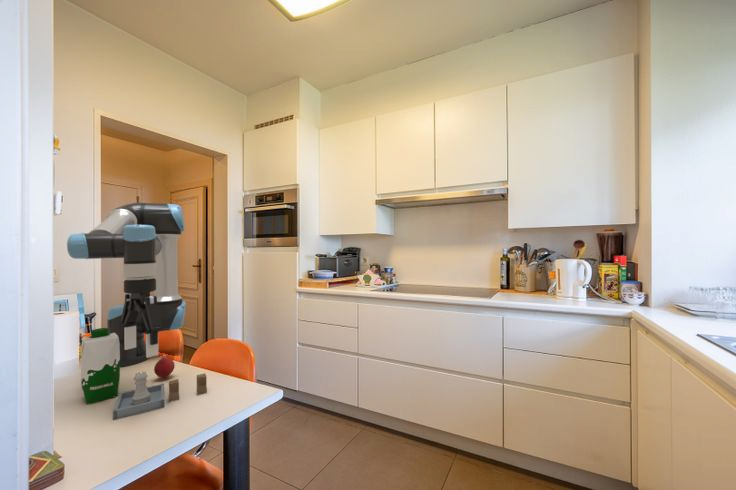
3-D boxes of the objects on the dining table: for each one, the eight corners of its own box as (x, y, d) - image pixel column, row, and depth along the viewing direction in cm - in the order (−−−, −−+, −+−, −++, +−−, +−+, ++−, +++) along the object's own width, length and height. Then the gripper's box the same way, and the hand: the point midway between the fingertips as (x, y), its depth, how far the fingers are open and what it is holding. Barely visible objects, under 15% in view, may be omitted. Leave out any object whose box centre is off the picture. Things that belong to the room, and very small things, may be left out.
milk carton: (117, 387, 99) (117, 325, 99) (121, 396, 93) (121, 330, 93) (80, 397, 93) (79, 331, 93) (82, 407, 86) (82, 336, 87)
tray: (119, 400, 90) (119, 393, 90) (164, 390, 96) (164, 383, 96) (113, 420, 79) (112, 411, 79) (164, 407, 85) (164, 399, 85)
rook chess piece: (154, 397, 90) (154, 370, 90) (143, 405, 85) (142, 376, 85) (139, 398, 90) (139, 370, 90) (127, 405, 85) (126, 376, 86)
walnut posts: (169, 397, 91) (168, 380, 91) (205, 389, 96) (205, 373, 96) (169, 401, 88) (169, 384, 88) (206, 392, 94) (206, 376, 94)
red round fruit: (167, 381, 103) (166, 357, 103) (150, 382, 103) (149, 358, 103) (178, 374, 108) (177, 352, 109) (162, 375, 109) (161, 352, 109)
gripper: (176, 278, 85) (177, 355, 85) (135, 275, 98) (136, 342, 98) (145, 281, 79) (146, 364, 78) (106, 278, 92) (107, 349, 91)
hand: (141, 352), depth 88 cm, fingers open, 13 cm apart
